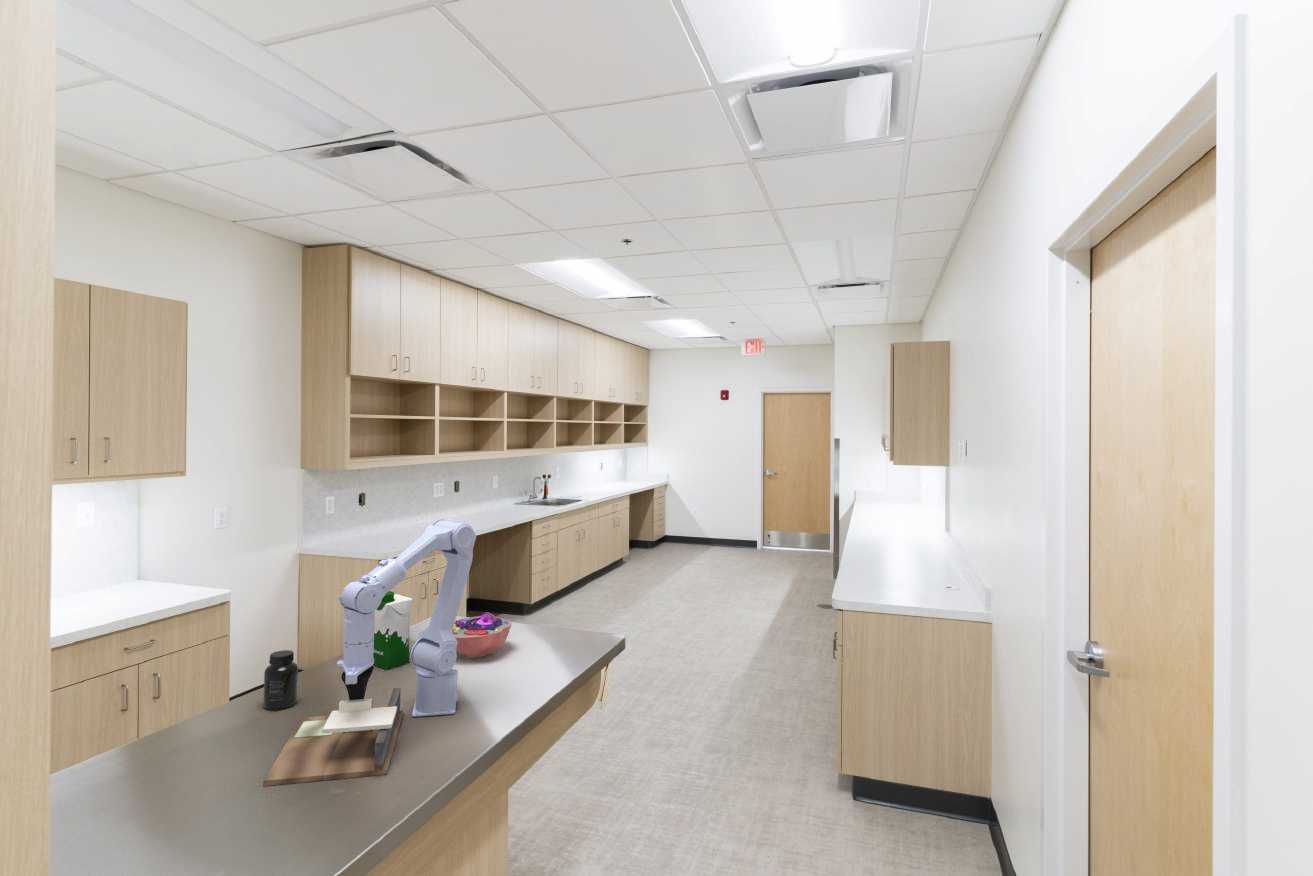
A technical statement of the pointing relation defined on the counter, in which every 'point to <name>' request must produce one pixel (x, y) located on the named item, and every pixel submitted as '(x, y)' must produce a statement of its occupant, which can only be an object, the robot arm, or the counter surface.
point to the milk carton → (392, 631)
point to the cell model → (480, 635)
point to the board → (334, 751)
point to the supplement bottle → (280, 681)
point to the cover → (359, 717)
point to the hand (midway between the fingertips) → (356, 704)
